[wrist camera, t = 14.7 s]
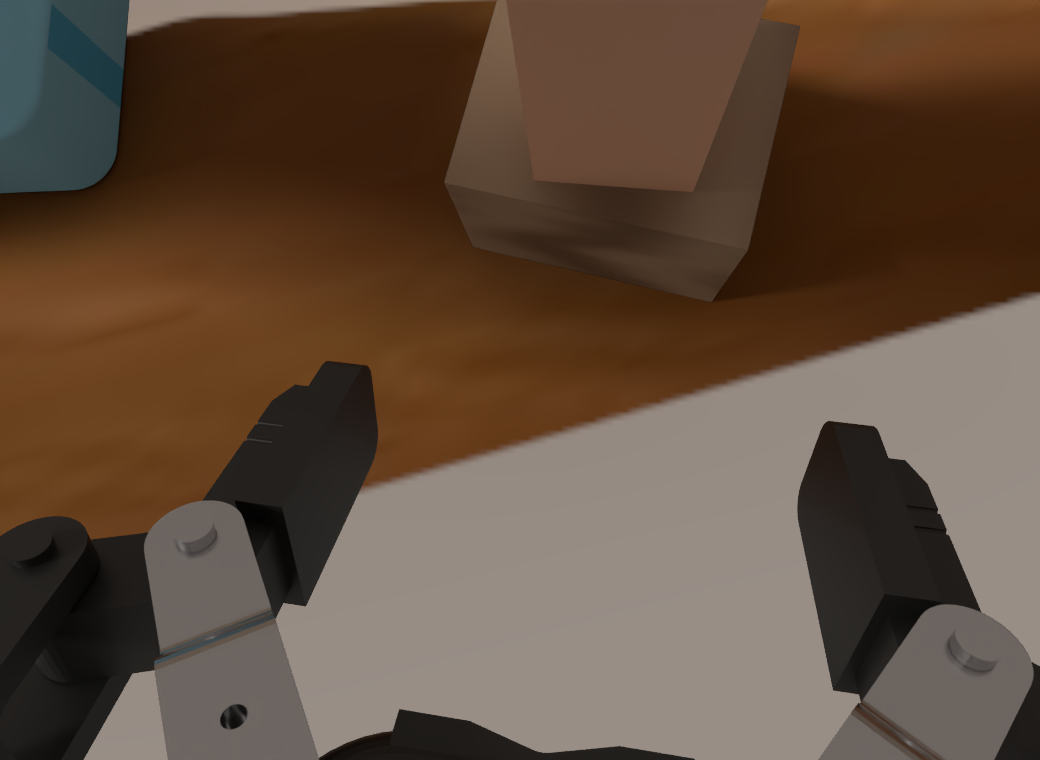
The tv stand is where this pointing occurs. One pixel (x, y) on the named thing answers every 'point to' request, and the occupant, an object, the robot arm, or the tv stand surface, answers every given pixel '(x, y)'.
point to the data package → (59, 92)
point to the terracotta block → (627, 85)
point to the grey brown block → (618, 210)
